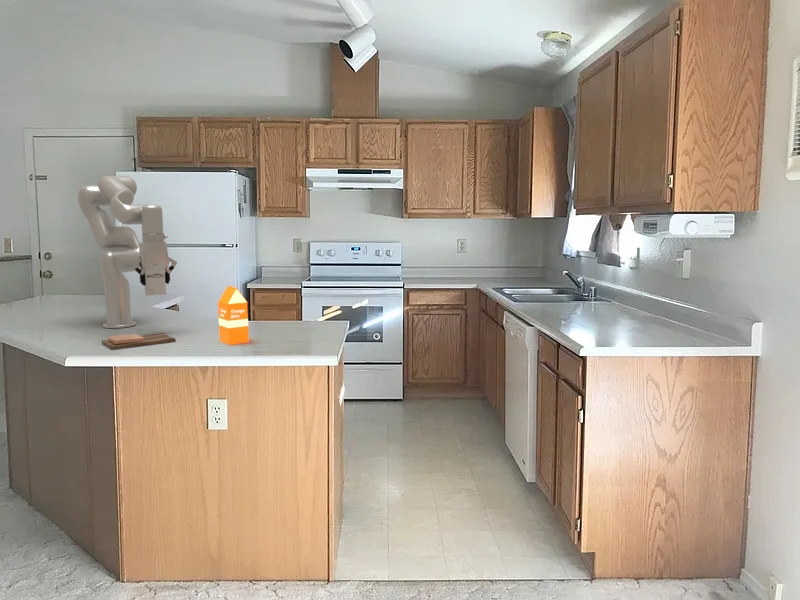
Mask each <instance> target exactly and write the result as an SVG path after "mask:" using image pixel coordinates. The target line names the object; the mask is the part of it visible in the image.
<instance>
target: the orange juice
mask: <svg viewBox="0 0 800 600" xmlns="http://www.w3.org/2000/svg"><path fill="white" fill-rule="evenodd" d="M217 305H218V327H219V328H218V329H219V341H220V342H221V343H224V344H227V345H228V346H229V345H230V346H231V345H237V344H245V343H249V342H250V341H249V339H250V337H249V319H248V318H249V316H248V315H249V314H248V301H247V300H246V299H245V297H244V296H243V295H242V292H240V291H239V290H238V288H237V287H234V286H230V285H227V287H226V288H225V290H224V291H223V293H222V295H221V296H220V298H219V299H218V302H217Z"/></svg>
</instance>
